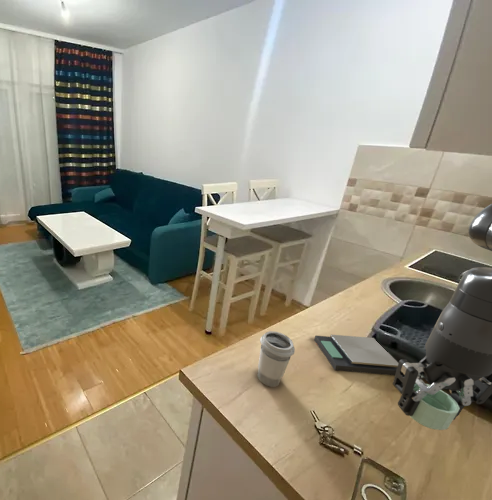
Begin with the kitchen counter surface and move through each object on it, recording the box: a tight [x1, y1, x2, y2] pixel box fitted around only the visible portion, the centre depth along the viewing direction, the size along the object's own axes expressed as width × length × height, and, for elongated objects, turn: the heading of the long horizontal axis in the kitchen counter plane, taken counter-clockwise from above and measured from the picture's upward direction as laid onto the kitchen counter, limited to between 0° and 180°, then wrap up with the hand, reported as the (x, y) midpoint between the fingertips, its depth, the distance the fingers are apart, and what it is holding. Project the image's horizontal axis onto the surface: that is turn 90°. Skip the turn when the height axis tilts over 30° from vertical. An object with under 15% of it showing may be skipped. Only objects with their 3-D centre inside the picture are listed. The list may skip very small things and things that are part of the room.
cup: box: [257, 330, 296, 388], centre depth 65 cm, size 7×7×12 cm
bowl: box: [409, 383, 460, 431], centre depth 50 cm, size 6×6×4 cm
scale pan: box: [329, 334, 399, 367], centre depth 73 cm, size 11×10×1 cm
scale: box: [313, 335, 399, 376], centre depth 74 cm, size 16×11×3 cm
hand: (425, 413), depth 50 cm, fingers closed on bowl, 6 cm apart
